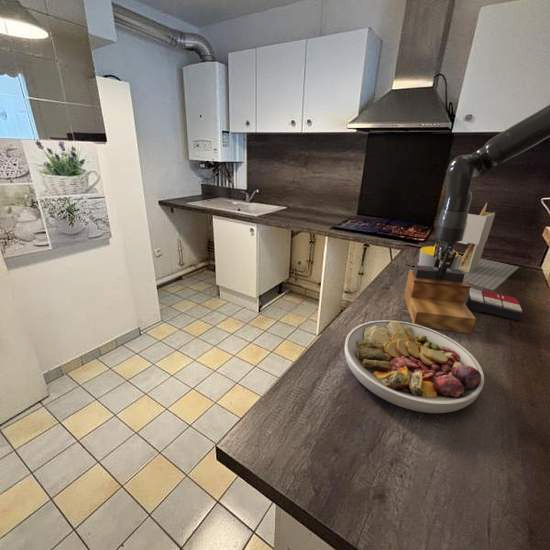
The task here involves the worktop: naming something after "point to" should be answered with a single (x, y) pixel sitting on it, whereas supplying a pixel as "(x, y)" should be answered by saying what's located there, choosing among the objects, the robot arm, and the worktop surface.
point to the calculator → (493, 304)
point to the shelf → (438, 304)
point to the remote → (432, 272)
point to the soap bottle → (431, 257)
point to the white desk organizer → (472, 263)
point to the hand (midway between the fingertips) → (438, 274)
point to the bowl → (413, 366)
